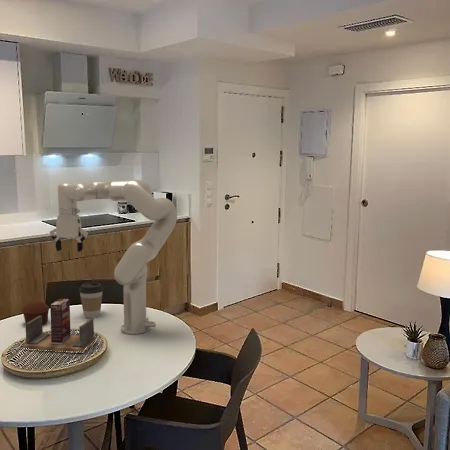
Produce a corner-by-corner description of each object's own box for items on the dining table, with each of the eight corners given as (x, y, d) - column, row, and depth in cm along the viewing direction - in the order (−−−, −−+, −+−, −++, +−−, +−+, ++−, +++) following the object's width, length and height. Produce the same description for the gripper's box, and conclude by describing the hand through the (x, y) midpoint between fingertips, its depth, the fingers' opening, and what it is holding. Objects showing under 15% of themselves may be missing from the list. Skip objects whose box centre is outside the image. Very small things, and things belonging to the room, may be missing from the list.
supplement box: (63, 345, 182) (61, 305, 180) (50, 344, 182) (49, 304, 180) (71, 336, 191) (70, 298, 189) (60, 336, 191) (58, 298, 189)
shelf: (96, 341, 191) (95, 317, 190) (82, 354, 179) (81, 328, 177) (41, 337, 195) (40, 314, 194) (23, 350, 182) (22, 325, 181)
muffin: (55, 321, 214) (54, 300, 213) (36, 329, 204) (35, 307, 203) (36, 318, 219) (35, 297, 218) (16, 325, 209) (15, 303, 208)
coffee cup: (109, 314, 224) (108, 284, 222) (91, 321, 215) (90, 289, 213) (92, 310, 230) (91, 280, 228) (74, 317, 221) (73, 285, 219)
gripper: (90, 211, 207) (91, 249, 209) (53, 210, 209) (55, 248, 212) (83, 213, 200) (84, 253, 202) (44, 212, 202) (46, 251, 204)
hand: (69, 250), depth 207 cm, fingers open, 9 cm apart
